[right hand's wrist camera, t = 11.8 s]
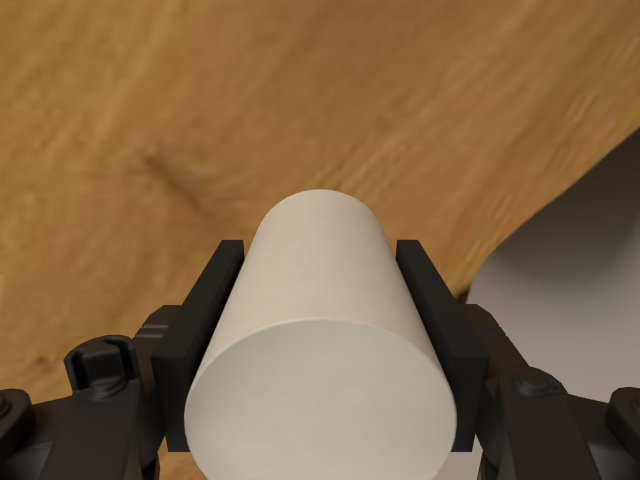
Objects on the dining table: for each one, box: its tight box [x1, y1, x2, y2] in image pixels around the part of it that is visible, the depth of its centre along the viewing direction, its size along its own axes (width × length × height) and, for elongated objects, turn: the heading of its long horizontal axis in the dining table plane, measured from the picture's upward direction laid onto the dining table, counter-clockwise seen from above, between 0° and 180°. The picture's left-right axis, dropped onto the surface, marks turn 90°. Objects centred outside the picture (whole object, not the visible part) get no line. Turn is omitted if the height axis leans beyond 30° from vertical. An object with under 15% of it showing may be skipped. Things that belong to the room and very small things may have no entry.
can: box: [184, 190, 457, 480], centre depth 12 cm, size 6×6×9 cm
